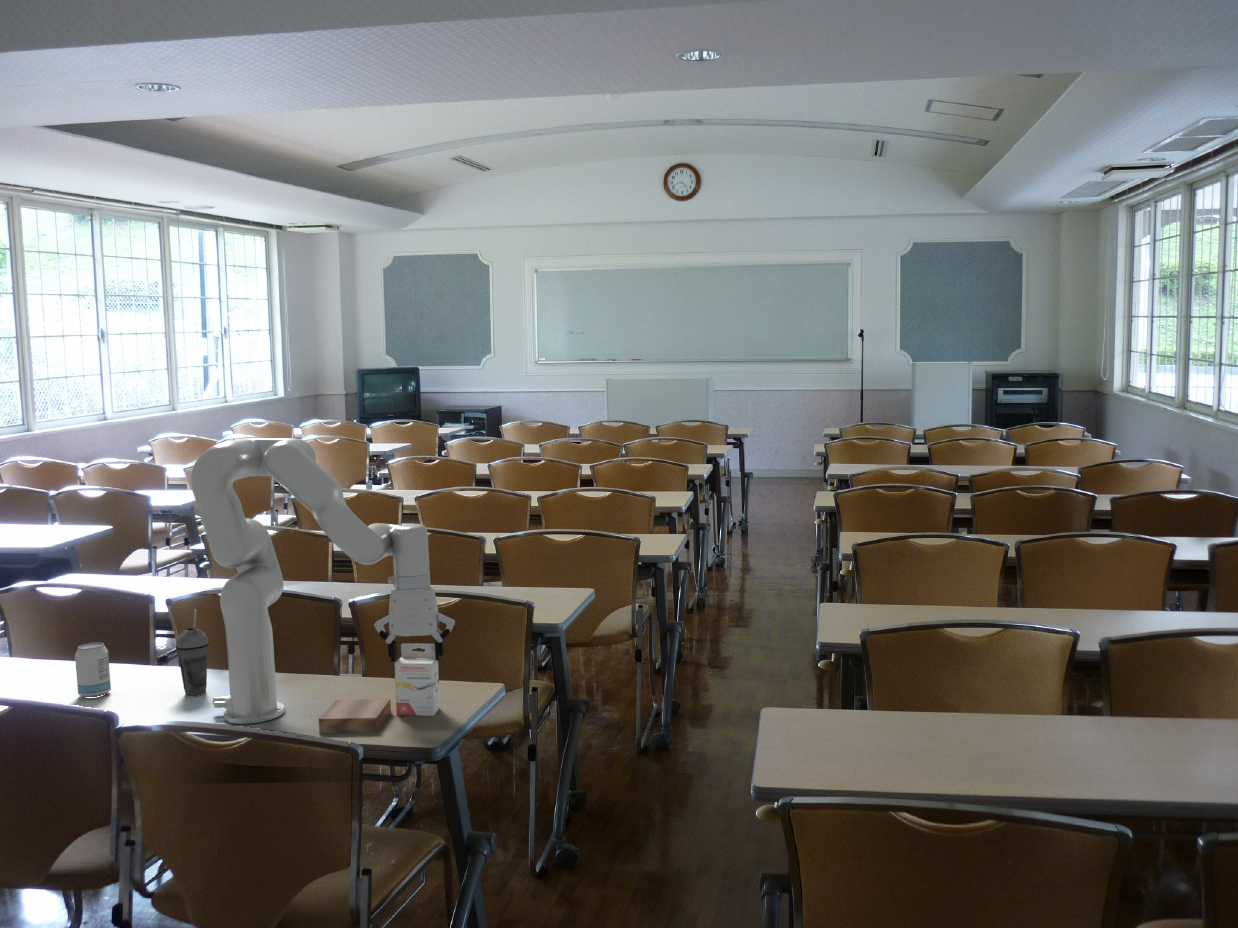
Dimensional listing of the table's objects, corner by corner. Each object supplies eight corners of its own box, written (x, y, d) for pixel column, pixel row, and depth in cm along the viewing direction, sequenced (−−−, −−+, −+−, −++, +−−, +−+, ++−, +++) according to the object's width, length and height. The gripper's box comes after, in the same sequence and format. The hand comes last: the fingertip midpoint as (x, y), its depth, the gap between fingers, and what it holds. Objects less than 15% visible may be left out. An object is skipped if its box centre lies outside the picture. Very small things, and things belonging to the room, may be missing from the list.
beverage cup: (178, 691, 249) (172, 608, 247) (211, 686, 252) (205, 604, 250) (179, 700, 242) (173, 614, 240) (213, 695, 245) (207, 610, 243)
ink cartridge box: (395, 715, 227) (392, 649, 226) (402, 708, 232) (399, 642, 231) (434, 716, 226) (431, 649, 225) (440, 708, 231) (437, 642, 230)
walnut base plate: (319, 732, 218) (318, 718, 218) (336, 713, 230) (335, 699, 230) (377, 731, 218) (376, 717, 217) (391, 712, 229) (390, 698, 229)
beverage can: (85, 691, 251) (81, 642, 250) (115, 690, 251) (111, 640, 250) (73, 700, 244) (69, 650, 243) (104, 699, 245) (100, 648, 243)
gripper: (367, 586, 223) (372, 665, 225) (449, 584, 222) (453, 663, 224) (376, 579, 230) (381, 655, 232) (455, 577, 230) (459, 653, 232)
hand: (416, 659), depth 228 cm, fingers open, 9 cm apart
